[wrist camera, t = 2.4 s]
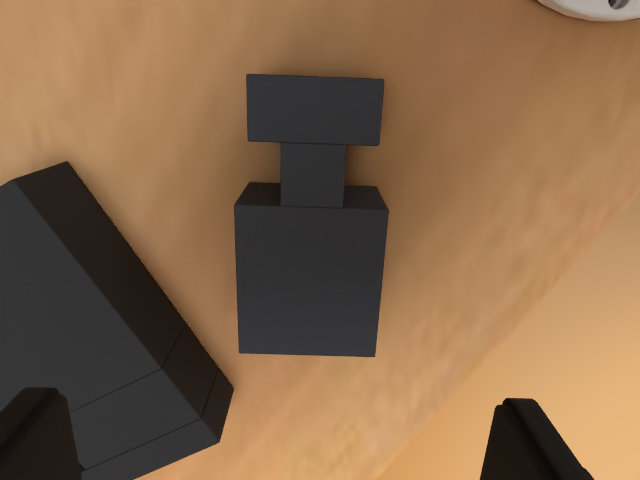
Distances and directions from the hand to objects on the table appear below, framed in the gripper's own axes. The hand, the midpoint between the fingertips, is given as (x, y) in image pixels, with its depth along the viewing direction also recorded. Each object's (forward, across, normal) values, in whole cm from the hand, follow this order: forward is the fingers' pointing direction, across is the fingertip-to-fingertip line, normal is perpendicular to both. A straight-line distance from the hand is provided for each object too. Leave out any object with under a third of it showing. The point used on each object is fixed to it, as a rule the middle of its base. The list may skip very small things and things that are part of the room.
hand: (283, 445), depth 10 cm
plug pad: (+13, 0, -2) cm, 14 cm away
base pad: (+14, +16, +8) cm, 22 cm away
